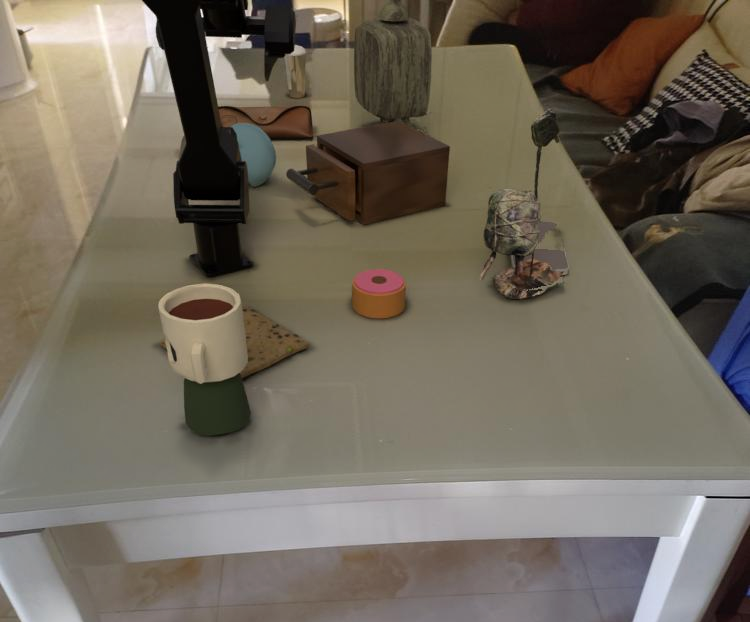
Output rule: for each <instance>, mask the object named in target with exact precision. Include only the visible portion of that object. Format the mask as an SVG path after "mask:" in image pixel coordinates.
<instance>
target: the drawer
mask: <svg viewBox="0 0 750 622" xmlns="http://www.w3.org/2000/svg"><path fill="white" fill-rule="evenodd" d="M305 158H306V159H305V161H306V169H301V170H296V169H294V168H289V169H288V170H286V173H285V174H286V175H285V176H286V178H287V179H288V180H289V181H290V182H292V183H293V184H295V185H297V186H298V187H300V188H301V189H302V190H304V191H305V192H307V193H308V194H310V195H312V196H313V197H314V198H316V199H317V200H319V201H320V202H321V203H323V204H325V206H327V207H328V208H330V209H332V210H333V211H334V212H336V213H337V214H338V215H340V216H342V217H343V218H344V219H345V220H347V221H352V220H356V219H355V210H357V211H358V212H360V213H361V167H359V166H357V165H356V164H354V163H352V162H351V161H349V160H347V159H346V158H344V157H342V156H341V155H339V154H337V153H336V152H334V151H332V150H331V149H329V148H327V147H326V146H323V150H321V149H319V148H318V147H317V145H315V144H312V143H311V144H308V145H305Z"/></svg>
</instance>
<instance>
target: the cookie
mask: <svg viewBox="0 0 750 622" xmlns="http://www.w3.org/2000/svg"><path fill="white" fill-rule="evenodd" d="M242 311H243V320H244V328H245V337H246V345H247V354H248V362H247V364H246V366H245V368H244V370H242V371H241V372H239V373H240V375H241V378H242V379H244V378H245V377H249V376H251V375H252V374H254V373H256V372H259V371H262V370H263V369H266V368H269V367H270V366H272V365H274V364H276V363H277V362H280V361H281V360H283V359H284V358H287V357H289V356H292V355H293V354H296V353H298V352H300V351H303V350H306V349H308V348H309V343H308V342H307V341H306V340H304V339H303V338H301V337H300V336H299V335H297V334H296V333H293V332H291V331H290V330H287V329H285V328H284V327H282V326H281V325H279V324H278V323H275V322H274V321H272V320H270V319H268V318H266V317H265V316H263V315H262V314H260V313H258V312H257V311H256V310H255V309H254V308H253V309H252V308H251V307H249V306H247V305H242ZM159 344H160V346H161V347H162V348H163V349H165V350H167V348H166V342H165V338H164V339H162V340H161V341H160V343H159Z"/></svg>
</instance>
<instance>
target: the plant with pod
mask: <svg viewBox="0 0 750 622" xmlns="http://www.w3.org/2000/svg"><path fill="white" fill-rule="evenodd" d="M530 131H531V140H532V142H533V144H534V146H535V147H537V151H536V158H535V159H536V160H535V161H536V162H535V172H534V191H532V190H517V189H511V188H504V189H500V190H498V191H495V192H493V193H491V194H490V195H489V198H488V203H487V206H488V207H487V208H488V209H487V219H486V224H485V226H484V230H483V234H482V235H483V242H484V245H485V247H486V248H488V249H489V250H490V251H491V253H490V255H489V258H488V259H487V260H486V262H485V263H484V265H483V269H482V272H481V274H480V277H479V279H478V281H479V282H482V281H483V280H484V278H485V276H486V274H487V272H488V271H489V270H490V268H491V266H492V265H493V263H494V261H495V259H496V257H497V253H498V254H501V255H502V256H503V255H504V256H510V255H514V258H515V263H516V266H515V268H513V267H512V266H510V267H507V268H505V270H503V271H501V273H500V272H498V273H496V274H495V275H494V276H493V277H490V278H491V283H493V285H494V287H495V288H496V289H497V291H498V292H500V293H499V294H502V295H504V296H505V298H508V299H513V300H517V299H518V300H523V299H527V298H531V297H535V296H537V295H541V294H543V293H544V292H546V291H545V290H542V289H538V290H529V289H532V288H533V289H534V288H538V287H541V286H547V285H552V284H555V282H556V281H557V280H559V278H560V277H562V276H563V275H562V274H563V272H558V271H555V269H553V268H550V267H549V266H548V264H547V263H540V262H539V261H538V260H535V259H533V257H534V251H535V248H536V243H537V240H538V233H539V231H540V229H539V226H540V221H541V217H542V213H543V211H542V208H541V200H540V199H539V197H538V192H539V191H538V186H539V172H540V165H541V164H540V163H541V156H542V150H543V148H545V147H548V145H549V144H550V143H552V141H554V142H555V143H556V144H560V139H559V136H558V134H559V133H560V124H559V122H558V121H557V113H556V112H555V110H553V109H550V108H547V109H546V110H545V111H543V112H542V113H541V114H539V115H537V116H536V118H535V119H533V121H532V122H531V125H530ZM491 189H492V187H491V186H489V188H488V190H491ZM531 254H532V259H529V260H525V261H523V259H524V257H525V256H528V255H531ZM524 289H526V290H527V289H528V291H526V290H524ZM522 291H523V292H522ZM538 291H540V292H538Z"/></svg>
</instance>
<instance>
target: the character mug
mask: <svg viewBox="0 0 750 622" xmlns="http://www.w3.org/2000/svg"><path fill="white" fill-rule="evenodd" d="M242 306H243V305H242V299H241V296H240V294H239V292H236V290H234V289H233V288H232V287H228V286H225V285H221V284H216V283H205V282H204V283H196V284H188V285H185V286H182V287H178V288H175V289H173V290H171V291H169V292H168V293H165V295H163V297H161V298H160V300H159V302H158V312H159V317H160V322H161V327H162V332H163V337H164V339H165V342H166V348H167V349H166V353H167V357H168V364H169V366H170V368H171V369H172V370H173V371H174V372H175V374H177V375H179V376H180V377H182V378H184V379H183V408H184V409H183V410H184V420H185V424H186V426H187V427H188V429H189V430H190V432H193V433H195V434H197V435H199V436H218V435H225V434H230V433H232V432H236V431H238V430H240V429H243V428H244V427H245V426H246V425H247V424H248V423H249V422H250V421H251V413H252V412H251V408H250V403H249V398H248V395H247V392H246V388H245V385H244V381H243V378H241V375H240V373H239V372H241V371H242V370H244V368H245V366H246V364H247V362H248V354H247V345H246V337H245V328H244V320H243V311H242Z"/></svg>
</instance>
